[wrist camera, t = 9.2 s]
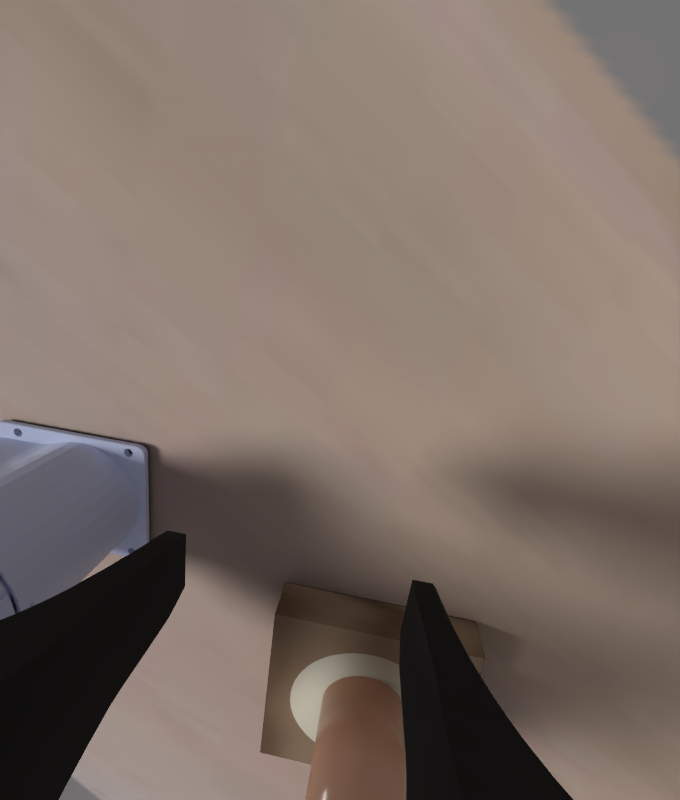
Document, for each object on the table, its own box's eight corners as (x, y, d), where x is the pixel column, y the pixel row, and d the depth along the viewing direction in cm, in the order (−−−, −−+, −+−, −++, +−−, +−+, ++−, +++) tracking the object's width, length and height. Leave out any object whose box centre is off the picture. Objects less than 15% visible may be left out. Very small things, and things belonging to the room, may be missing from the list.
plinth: (271, 713, 29) (260, 752, 27) (285, 582, 26) (274, 614, 23) (435, 751, 28) (439, 796, 26) (476, 621, 25) (485, 659, 22)
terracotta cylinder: (319, 726, 25) (297, 857, 20) (325, 669, 24) (304, 793, 18) (398, 743, 25) (399, 881, 19) (409, 685, 23) (415, 818, 18)
